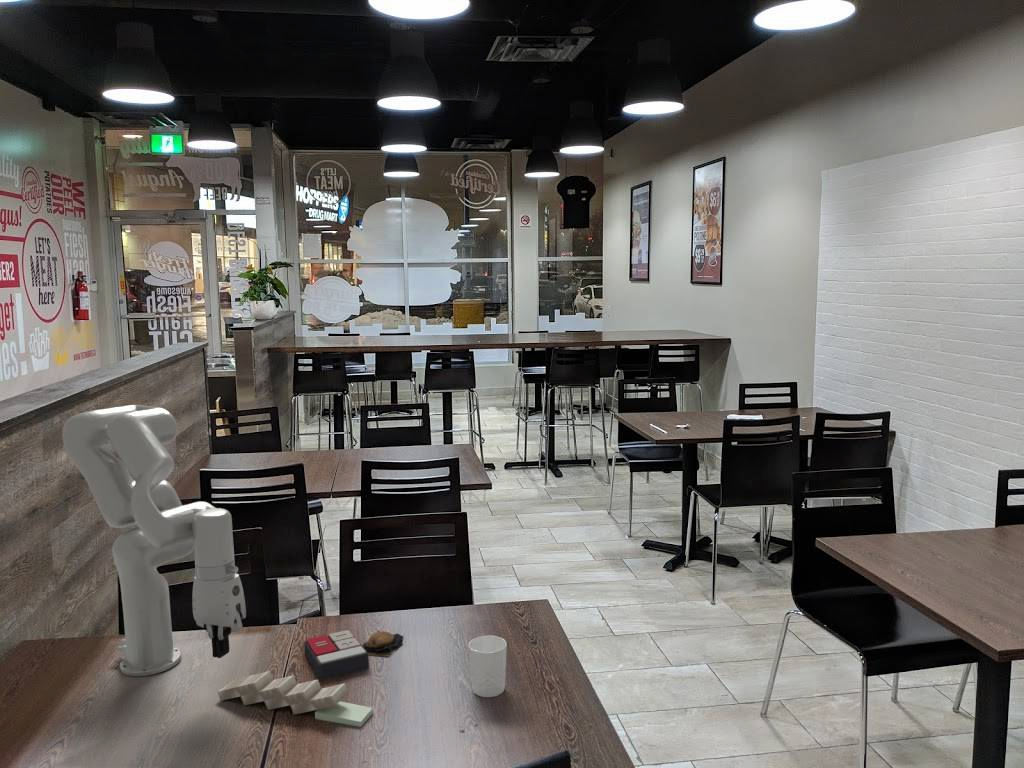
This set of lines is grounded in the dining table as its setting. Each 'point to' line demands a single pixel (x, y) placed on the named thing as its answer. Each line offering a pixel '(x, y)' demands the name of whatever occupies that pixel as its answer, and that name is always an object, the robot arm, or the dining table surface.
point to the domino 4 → (322, 699)
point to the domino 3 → (295, 695)
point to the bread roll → (383, 644)
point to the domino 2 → (271, 690)
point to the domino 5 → (345, 714)
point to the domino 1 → (245, 685)
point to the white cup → (488, 665)
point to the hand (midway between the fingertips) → (221, 654)
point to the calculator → (336, 654)
